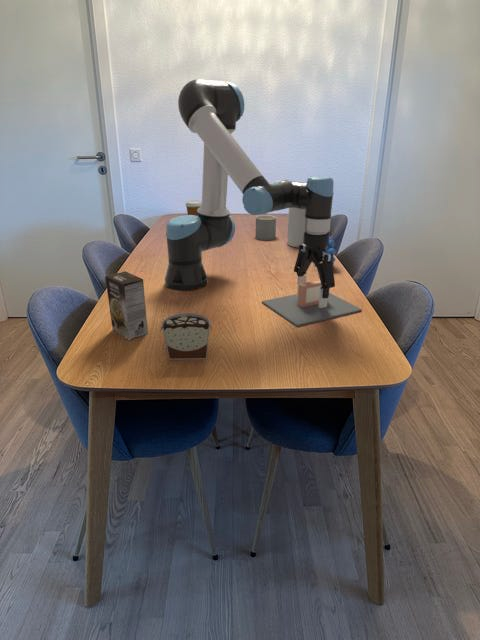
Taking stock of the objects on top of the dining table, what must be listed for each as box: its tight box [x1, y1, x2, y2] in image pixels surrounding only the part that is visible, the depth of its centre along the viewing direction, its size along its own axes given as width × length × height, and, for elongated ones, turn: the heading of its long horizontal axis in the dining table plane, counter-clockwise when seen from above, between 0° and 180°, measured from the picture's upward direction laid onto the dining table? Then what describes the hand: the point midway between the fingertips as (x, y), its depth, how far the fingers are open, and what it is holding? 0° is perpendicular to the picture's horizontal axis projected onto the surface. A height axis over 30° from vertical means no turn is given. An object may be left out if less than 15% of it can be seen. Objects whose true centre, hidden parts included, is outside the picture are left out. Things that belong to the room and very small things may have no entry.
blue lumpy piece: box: [326, 235, 337, 265], centre depth 172 cm, size 12×7×12 cm, turn 4°
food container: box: [160, 312, 213, 361], centre depth 108 cm, size 12×6×10 cm, turn 92°
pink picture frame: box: [297, 279, 328, 307], centre depth 136 cm, size 10×2×7 cm, turn 117°
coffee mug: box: [255, 214, 277, 241], centre depth 216 cm, size 13×10×10 cm
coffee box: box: [104, 270, 149, 340], centre depth 117 cm, size 9×6×16 cm
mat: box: [261, 292, 363, 328], centre depth 136 cm, size 24×20×1 cm
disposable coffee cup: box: [185, 200, 202, 216], centre depth 242 cm, size 10×10×12 cm
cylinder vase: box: [286, 208, 305, 249], centre depth 199 cm, size 12×12×25 cm
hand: (311, 300), depth 137 cm, fingers open, 10 cm apart
